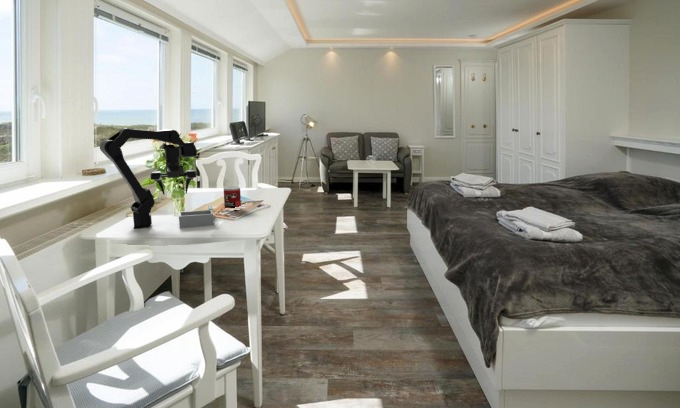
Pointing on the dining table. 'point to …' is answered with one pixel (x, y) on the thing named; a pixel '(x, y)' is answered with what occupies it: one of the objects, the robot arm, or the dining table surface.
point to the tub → (196, 218)
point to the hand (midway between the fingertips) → (175, 194)
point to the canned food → (232, 197)
